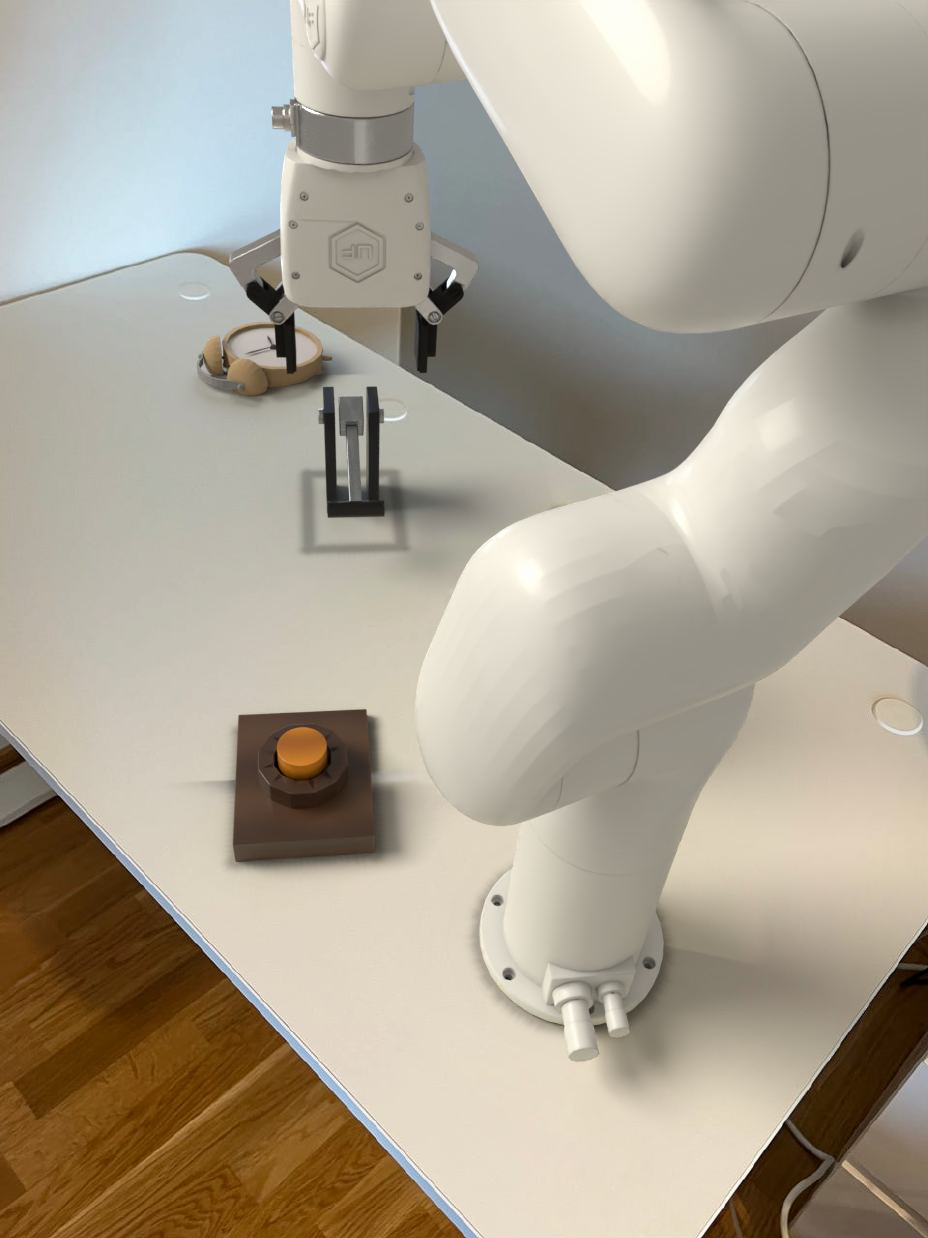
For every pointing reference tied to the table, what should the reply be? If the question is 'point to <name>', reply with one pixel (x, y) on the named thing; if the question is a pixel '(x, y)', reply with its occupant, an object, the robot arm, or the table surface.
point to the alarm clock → (258, 359)
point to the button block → (303, 789)
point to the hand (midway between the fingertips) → (356, 363)
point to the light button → (302, 753)
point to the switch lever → (353, 463)
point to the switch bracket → (372, 441)
